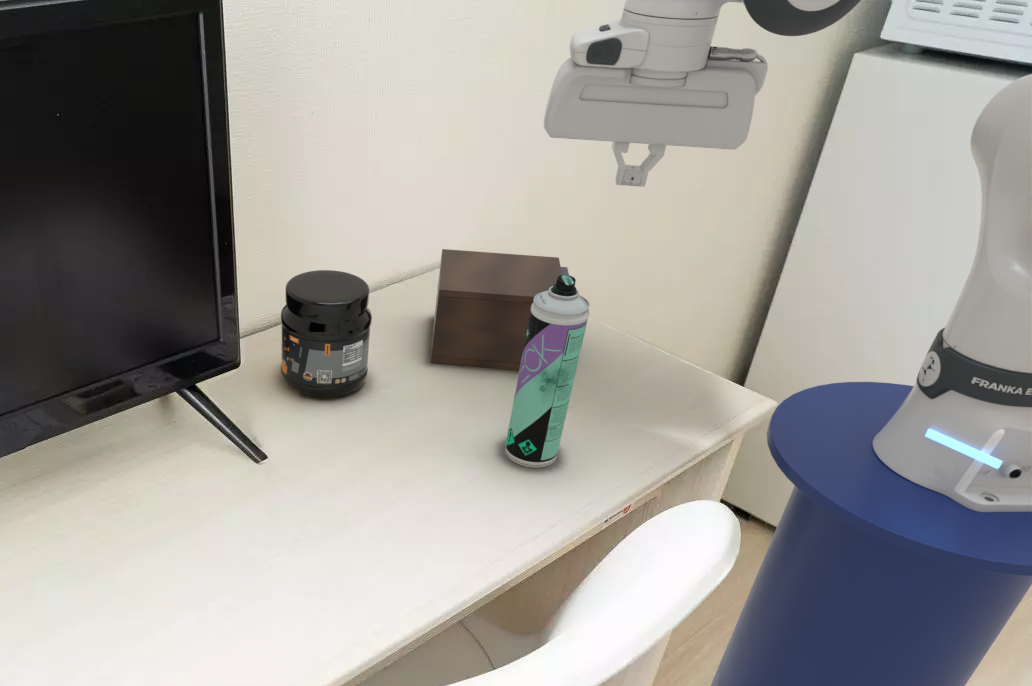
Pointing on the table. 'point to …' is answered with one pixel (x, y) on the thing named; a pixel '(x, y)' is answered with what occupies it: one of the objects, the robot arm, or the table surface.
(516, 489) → the table surface
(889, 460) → the robot arm
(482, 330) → the cabinet
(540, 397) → the spray can
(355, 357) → the supplement container
